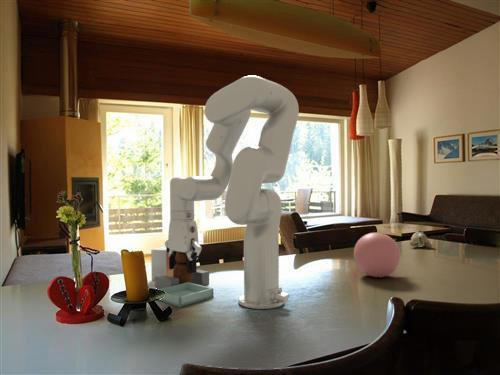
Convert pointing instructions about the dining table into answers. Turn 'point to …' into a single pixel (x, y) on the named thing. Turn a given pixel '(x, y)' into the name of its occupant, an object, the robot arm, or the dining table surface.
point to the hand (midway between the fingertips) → (182, 270)
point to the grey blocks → (167, 281)
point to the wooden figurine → (182, 268)
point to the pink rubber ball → (376, 255)
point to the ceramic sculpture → (420, 240)
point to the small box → (160, 262)
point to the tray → (186, 294)
